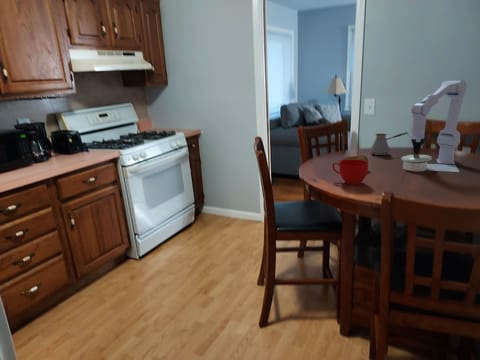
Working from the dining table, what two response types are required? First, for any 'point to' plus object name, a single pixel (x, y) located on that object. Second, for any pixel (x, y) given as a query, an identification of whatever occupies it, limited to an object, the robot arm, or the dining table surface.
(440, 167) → the mat
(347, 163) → the ceramic cup
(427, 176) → the dining table surface
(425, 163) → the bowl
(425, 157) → the lid
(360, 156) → the tin
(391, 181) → the dining table surface
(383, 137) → the coffee pot
